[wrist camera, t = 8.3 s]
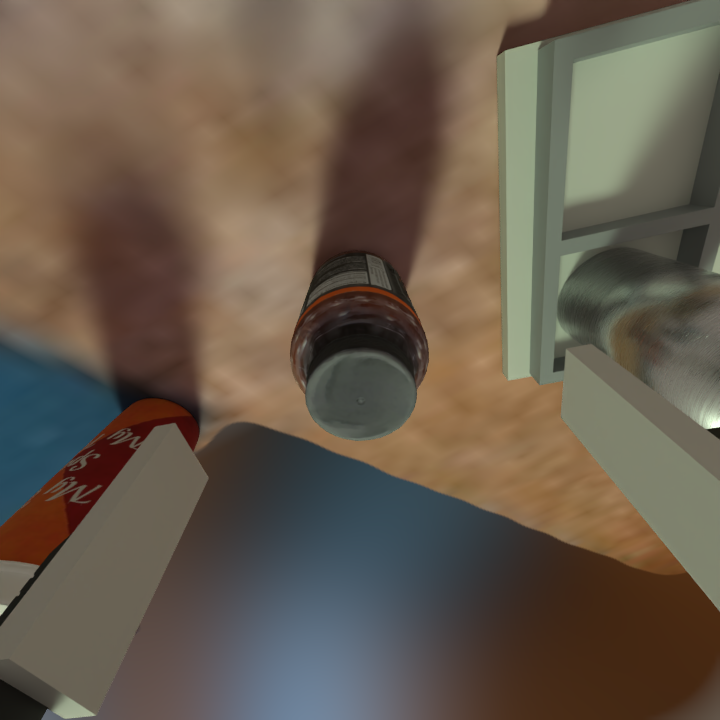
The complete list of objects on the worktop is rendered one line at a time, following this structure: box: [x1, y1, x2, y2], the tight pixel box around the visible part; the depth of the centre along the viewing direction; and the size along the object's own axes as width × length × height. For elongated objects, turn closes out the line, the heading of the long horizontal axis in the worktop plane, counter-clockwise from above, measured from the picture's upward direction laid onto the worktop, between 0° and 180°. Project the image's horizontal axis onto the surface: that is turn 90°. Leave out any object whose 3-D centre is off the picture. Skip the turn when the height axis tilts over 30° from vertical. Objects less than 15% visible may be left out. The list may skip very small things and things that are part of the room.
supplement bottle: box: [290, 251, 429, 441], centre depth 17 cm, size 6×6×11 cm
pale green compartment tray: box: [497, 0, 720, 385], centre depth 19 cm, size 18×18×2 cm
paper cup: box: [0, 398, 199, 616], centre depth 21 cm, size 8×8×14 cm
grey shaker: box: [557, 247, 720, 429], centre depth 17 cm, size 6×6×11 cm
